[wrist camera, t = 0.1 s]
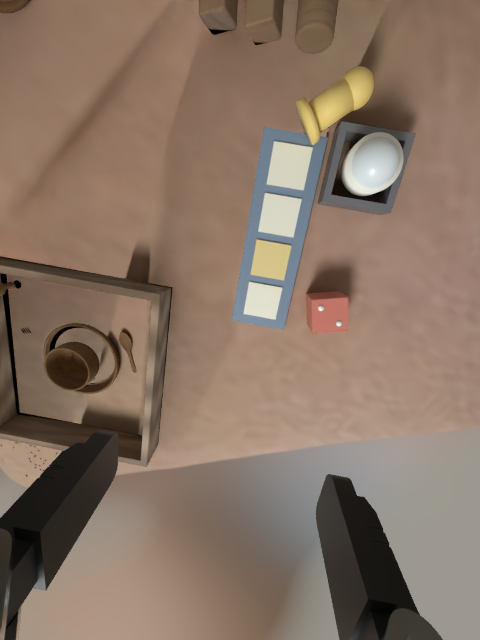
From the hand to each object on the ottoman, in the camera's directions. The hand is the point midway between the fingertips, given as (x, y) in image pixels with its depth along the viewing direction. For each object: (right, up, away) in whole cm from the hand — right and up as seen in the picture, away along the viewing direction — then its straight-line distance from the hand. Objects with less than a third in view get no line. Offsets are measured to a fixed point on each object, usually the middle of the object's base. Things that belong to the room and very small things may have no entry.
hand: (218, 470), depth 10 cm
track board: (+5, +17, +25) cm, 31 cm away
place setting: (-25, +4, +32) cm, 41 cm away
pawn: (+8, +27, +19) cm, 34 cm away
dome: (+15, +23, +20) cm, 34 cm away
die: (+12, +7, +28) cm, 31 cm away
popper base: (+15, +23, +22) cm, 36 cm away
